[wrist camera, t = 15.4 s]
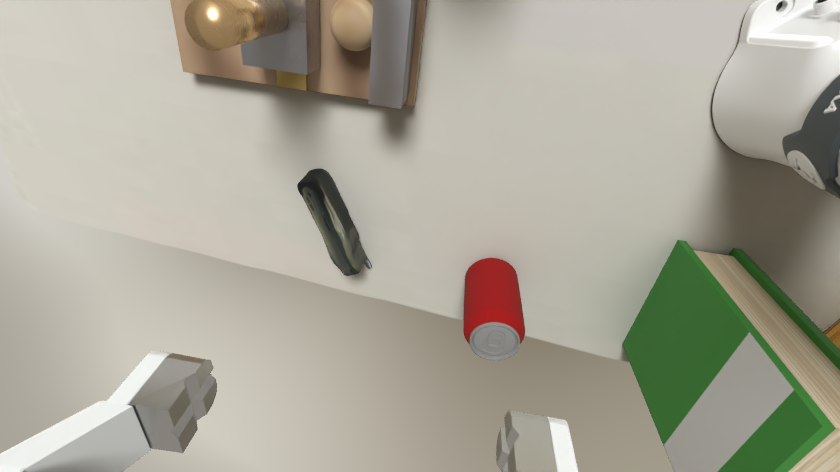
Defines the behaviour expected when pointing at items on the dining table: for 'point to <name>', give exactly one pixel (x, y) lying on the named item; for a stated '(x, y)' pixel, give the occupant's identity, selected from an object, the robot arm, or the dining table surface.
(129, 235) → the dining table surface
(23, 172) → the dining table surface
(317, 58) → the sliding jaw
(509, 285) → the beverage can
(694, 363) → the hardback book
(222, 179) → the dining table surface
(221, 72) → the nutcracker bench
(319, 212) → the mobile phone
